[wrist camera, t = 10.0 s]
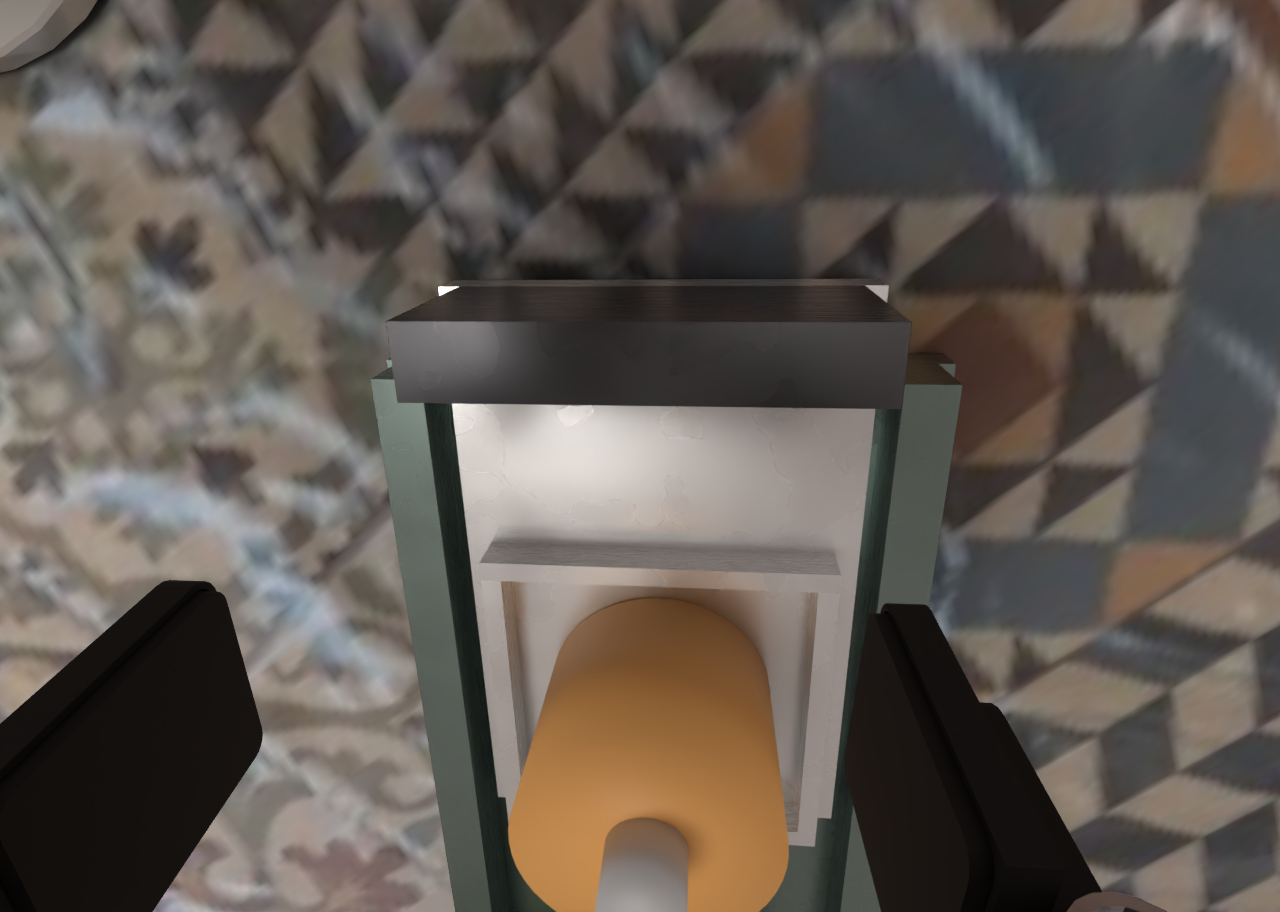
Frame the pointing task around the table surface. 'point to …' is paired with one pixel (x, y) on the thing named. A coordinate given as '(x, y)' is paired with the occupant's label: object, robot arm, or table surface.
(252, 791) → the table surface
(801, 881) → the press
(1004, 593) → the table surface
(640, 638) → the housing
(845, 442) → the sliding bed
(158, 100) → the table surface
